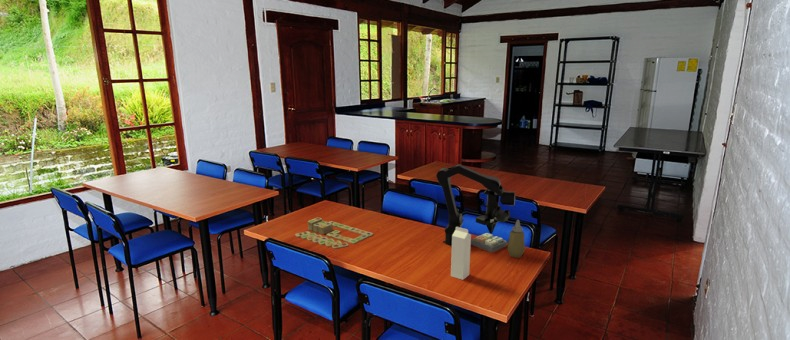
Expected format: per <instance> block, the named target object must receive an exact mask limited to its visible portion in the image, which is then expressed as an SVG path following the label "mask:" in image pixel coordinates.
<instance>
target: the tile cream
mask: <svg viewBox="0 0 790 340" xmlns="http://www.w3.org/2000/svg"><path fill="white" fill-rule="evenodd" d="M496 243H497V241H495V240H492V239H488V240H486V241H485V244H486V245H489V246H494V245H496Z"/></svg>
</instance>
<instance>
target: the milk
mask: <svg viewBox="0 0 790 340" xmlns="http://www.w3.org/2000/svg"><path fill="white" fill-rule="evenodd" d="M471 240H472V234H471V233H469V229H467V228H463V227H461V228H460V227H456V230H455V232H454V233H453V235H452V246H451V255H450V257H451V260H450V261H451V262H450V266H451V267H450V277H452V278H455V279H458V280H462V281H464V280H465V279H466V278H467V277H469V276H470V269H471V268H470V266H471V265H470V264H471V246H472V245H471Z"/></svg>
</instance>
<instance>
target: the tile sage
mask: <svg viewBox="0 0 790 340" xmlns="http://www.w3.org/2000/svg"><path fill="white" fill-rule="evenodd" d="M481 235H482V236H484V237H486V238H487V240H488V239H491V238H493V236H494V234H491V233H488V232H485V233H482V234H481Z"/></svg>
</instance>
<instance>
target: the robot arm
mask: <svg viewBox="0 0 790 340" xmlns="http://www.w3.org/2000/svg"><path fill="white" fill-rule="evenodd" d="M458 174H459V175H461V176H463V177H466V178H468V179H470V180H472V181H475V182H477V183H479V184H481V185H482V186H483V188H485V189H486V190H485V191H484V192H483V193H482V194H483V195H485V196H486V199H487V200H486V204H484V208H486V212H484V214H483V215H479V216H477V217H475V224H476V223H477V224H479V225H482V226H486V227H487V230H488V232H489V234H491V235H493V233H494V231H495V228H496V225H497V224H498V223H499V222H500V223H504V222H507V221H508V220H509V218H511V211H510V209H506V210H504V209H502V206H501V205H503V206H511V207H515V203H516V191H514V190H513V191H508V190H507V191H506V190H505V188H504V187H503V186H502V183H501V180H500V179H499V177H498V176H497V177H496V176H492V175H486V174H483V173H480V172H478V171H475V170H473V169H472V168H469V167H467V166H464V164H460V163H459V164H457V165H454V166H450V167H443V168H440V170H438V171H437V172H436V180H437V182H438V184H439V185H440V187H441V189H442V193H443V196H444V199H445V203H446V208H447V210H448V224H447V226H446V227H445V229H444V235H445V239H444V240H443V241H442V243H444V244H446V245H448V246H451V247H452V235H453V233H454V232H455V230H456V227H460V228H462V226H463V224H464V221H465V220H464V219H463V213H459V211H458V210H457V205H456V200H455V198H454V196H455V195H454V193H453V189H452V184H451V183H452V177H453V176H456V175H458ZM500 204H501V205H500Z"/></svg>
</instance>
